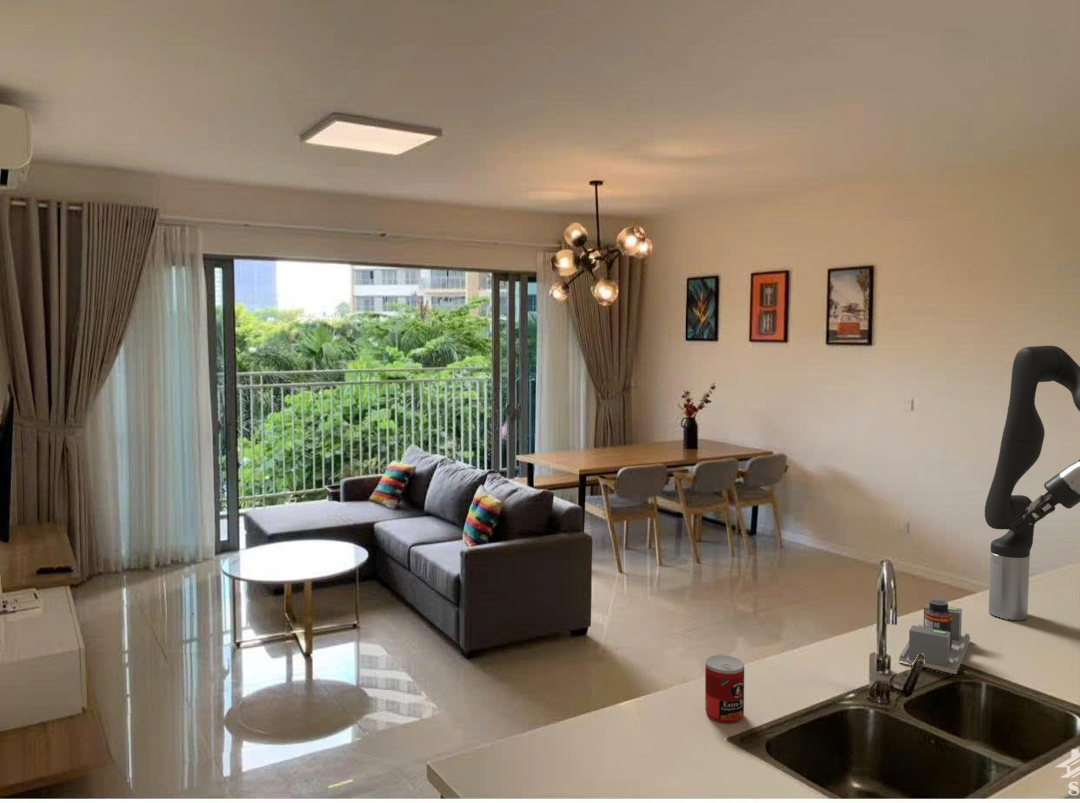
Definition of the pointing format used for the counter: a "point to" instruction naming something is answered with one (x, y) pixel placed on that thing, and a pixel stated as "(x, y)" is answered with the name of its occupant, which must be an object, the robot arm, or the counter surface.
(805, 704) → the counter surface
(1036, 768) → the counter surface
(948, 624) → the supplement bottle
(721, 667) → the canned food
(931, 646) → the board
